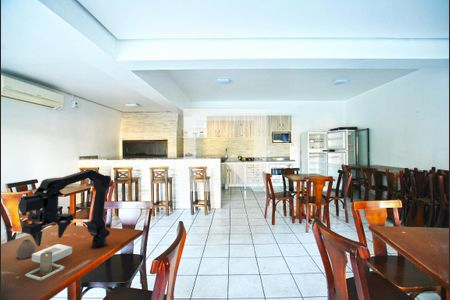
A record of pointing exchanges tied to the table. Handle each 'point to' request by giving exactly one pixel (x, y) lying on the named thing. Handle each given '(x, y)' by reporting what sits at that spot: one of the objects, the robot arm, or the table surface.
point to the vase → (26, 249)
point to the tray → (45, 275)
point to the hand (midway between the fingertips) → (49, 241)
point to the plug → (45, 262)
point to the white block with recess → (53, 252)
